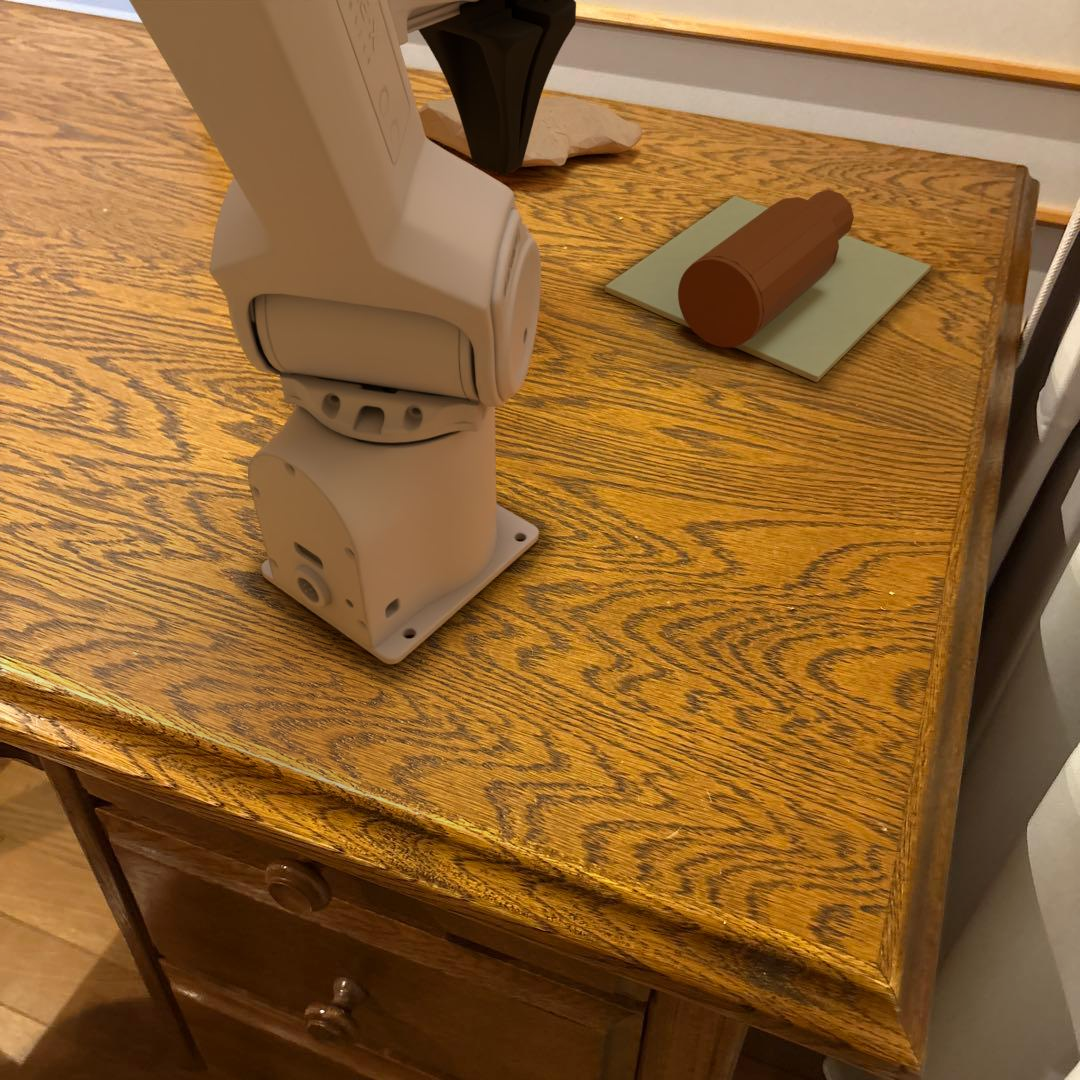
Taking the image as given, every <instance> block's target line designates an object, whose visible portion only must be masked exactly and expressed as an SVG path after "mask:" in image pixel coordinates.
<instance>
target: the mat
mask: <svg viewBox="0 0 1080 1080" xmlns="http://www.w3.org/2000/svg"><path fill="white" fill-rule="evenodd" d="M768 208H769V207H767V206H765V205H762V204H759V203H757V202H754V201H750V200H749V199H745V198H743V197H739V196H737V195H733V196H732V197H731V198H729V199H728V200H727V201H725V202H724V203H722V204H721V205H719V206H717V208H715V209H714V210H712V211H711V212H709V213H708V214H706V215H705V216H703V217H702V218H700V219H698V220H697V221H696V222H695V223H693V224H692V225H690V226H689V227H688V228H686V229H684V230H683V231H682V232H680V233H679V234H678V235H676V236H675V237H673V238H672V239H670V240H669V241H667V242H666V243H664V244H663V245H662V246H660V247H659V248H657V249H656V250H654V251H653V252H651V253H649V254H648V255H647V256H646V257H645V258H643V259H641V260H640V261H638V262H637V263H636V264H635V265H633V266H632V267H630V268H628V269H626V270H625V271H624V272H623V273H621V274H620V275H619V276H617V277H615V278H614V279H613V280H611V281H610V282H608V283H607V284H606V285H605V286H604V292H605V293H608V294H610V295H612V296H614V297H617V298H618V299H621V300H624V301H625V302H628V303H631V304H633V305H636V306H638V307H640V308H642V309H644V310H646V311H649V312H651V313H653V314H656V315H658V316H661V317H663V318H666V319H667V320H670V321H672V322H674V323H677V324H680V325H682V326H684V327H686V328H689V329H691V328H690V327H689V325H688V324H687V322H686V321H685V319H684V317H683V315H682V312H681V309H680V306H679V301H678V288H679V283H680V280H681V277H682V276H683V274H684V272H685V271H686V270H687V269H688V268H689V267H690V266H691V264H692V263H694V262H695V261H697V260H698V259H699V258H701V257H702V256H703V255H705V254H706V253H708V252H709V251H710V250H712V249H713V248H714V247H716V246H717V245H718V244H720V243H721V242H723V241H724V240H725V239H727V238H728V237H729V236H731V235H732V234H733V233H735V232H736V231H738V230H739V229H740V228H742V227H743V226H744V225H746V224H747V223H749V222H750V221H751V220H753V219H754V218H755V217H757V216H758V215H759V214H761V213H762V212H764V211H765V210H766V209H768ZM838 243H839V249H838V253H837V257H836V261H835V263H834V264H833V266H832V267H831V268H830V269H829V271H828V272H827V273H826V274H825V275H824V276H823V277H822V278H821V279H820V280H818V281H817V282H816V283H815V284H814V285H813V286H811V287H810V288H809V289H808V290H807V291H806V292H805V293H803V294H802V295H801V296H800V297H799V298H798V299H796V300H795V301H794V302H793V303H792V304H791V305H789V306H788V307H787V308H786V309H785V310H784V311H783V312H781V313H780V314H779V315H778V316H777V317H776V318H774V319H773V320H772V321H771V322H770V323H769V324H768V325H766V326H765V327H764V328H763V329H762V330H761V331H759V332H758V333H757V334H756V335H755V336H754V337H752V338H751V339H749V340H748V341H746V342H745V343H743V344H741V345H739V346H735V347H734V348H735V349H738V350H740V351H742V352H745V353H747V354H749V355H752V356H754V357H756V358H759V359H761V360H763V361H766V362H768V363H770V364H772V365H775V366H777V367H779V368H781V369H784V370H787V371H788V372H791V373H793V374H796V375H798V376H801V377H803V378H805V379H807V380H809V381H812V382H815V383H818V382H819V381H820V380H821V379H822V378H824V376H825V375H826V374H827V373H828V372H829V371H830V370H831V369H832V368H833V367H834V366H835V365H836V364H837V363H838V362H839V361H840V360H841V359H842V358H843V357H844V356H845V355H847V353H848V352H849V351H850V350H851V349H853V347H854V346H855V345H856V344H857V343H858V342H859V341H860V340H861V339H862V338H863V337H864V336H865V335H866V334H868V332H870V330H872V329H873V328H874V326H876V324H878V323H879V321H881V319H883V318H884V317H885V316H886V314H888V313H889V312H890V311H891V310H892V309H893V308H894V307H895V306H896V305H897V304H898V303H899V302H900V301H901V300H902V299H903V298H904V297H905V296H906V295H907V294H908V293H909V292H910V291H911V290H912V289H913V288H914V287H915V286H916V285H917V284H918V283H919V282H920V281H921V280H922V279H923V278H924V277H925V276H927V274H928V273H929V272H930V271H931V267H932V265H931V264H928V263H925V262H923V261H920V260H917V259H914V258H911V257H908V256H905V255H902V254H900V253H898V252H894V251H892V250H889V249H886V248H883V247H881V246H878V245H874V244H871V243H869V242H866V241H863V240H860V239H858V238H855V237H852V236H849V235H847V234H845V235H844V236H843V237H842V238H841V239H840V240H839V241H838Z"/></svg>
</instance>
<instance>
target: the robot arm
mask: <svg viewBox="0 0 1080 1080" xmlns="http://www.w3.org/2000/svg"><path fill="white" fill-rule="evenodd" d="M128 1H129V3H130V5H131V6H132V7H133V9H134V11H135V13H136V14H137V17H139V19H140V20H141V22H142V24H143V26H144V28H145V29H146V31H147V33H148V35H149V36H150V38H151V39H152V42H153V44H155V47H156V48H157V50H158V52H159V53H160V55H161V56H162V58H163V61H165V63H166V65H167V67H168V68H169V70H170V71H171V73H172V75H173V77H174V79H175V80H176V82H177V83H178V85H179V87H180V88H181V90H182V93H184V95H185V97H186V99H187V101H188V103H190V105H191V107H192V109H193V110H194V112H195V114H196V116H197V117H198V119H199V120H200V122H201V124H202V126H203V127H204V129H205V131H206V132H207V134H208V136H209V138H210V140H212V143H213V144H214V145H215V147H216V149H217V151H218V153H219V154H220V156H221V158H222V159H223V161H224V163H225V165H226V166H227V168H228V169H229V171H230V173H231V174H232V176H233V177H232V179H231V181H230V184H229V186H228V187H227V189H226V193H225V196H224V198H223V200H222V203H221V206H220V210H219V214H218V217H217V221H216V225H215V229H214V234H213V240H212V248H211V254H210V255H211V256H210V262H209V274H210V276H211V277H212V279H213V280H214V281H215V283H216V284H217V285H218V287H219V288H220V290H221V291H222V293H223V295H224V296H225V299H226V302H227V306H228V314H229V315H228V316H229V319H230V324H231V327H232V330H233V333H234V335H235V338H236V340H237V342H238V343H239V346H240V348H241V350H242V352H243V353H244V356H245V357H246V359H247V361H248V362H249V363H250V364H251V366H252V367H253V368H255V369H256V370H258V371H259V372H262V373H264V374H267V375H275V376H279V379H280V384H281V389H282V393H283V398H284V402H285V403H287V404H290V405H295V407H294V408H293V410H292V412H291V413H290V414H289V416H288V418H287V419H286V422H285V423H284V424H283V425H282V427H281V428H280V429H279V430H278V431H277V432H276V433H275V434H274V435H273V437H272V438H270V439H269V441H267V442H266V443H265V444H264V445H263V446H262V447H261V448H259V450H257V451H256V453H255V454H253V456H252V457H251V459H250V460H249V463H248V467H247V481H248V486H249V489H250V494H251V497H252V502H253V504H254V509H255V513H256V516H257V521H258V524H259V529H260V532H261V536H262V540H263V544H264V547H265V552H266V555H267V559H266V560H265V561H264V562H262V564H261V566H260V570H261V575H262V576H263V578H264V579H266V580H267V581H269V582H270V583H271V584H273V585H274V586H275V587H276V588H278V589H280V590H281V591H283V592H284V594H287V595H288V596H289V597H291V598H292V599H293V600H295V601H297V602H298V603H299V604H301V605H302V606H304V607H305V608H306V609H308V610H309V611H310V612H312V613H314V614H315V615H316V616H318V617H319V618H320V619H322V620H323V621H325V623H328V624H329V625H331V626H332V627H333V628H334V629H336V630H338V631H339V632H341V633H342V634H343V635H345V636H346V637H347V638H349V639H350V640H352V641H353V642H354V643H356V644H357V645H359V646H360V647H361V648H363V649H364V650H365V651H367V652H368V653H370V654H371V655H373V656H374V657H375V658H377V659H378V660H379V661H381V662H382V663H384V664H386V665H395V664H399V663H400V662H402V661H403V660H404V659H405V658H406V657H408V656H409V655H410V654H411V653H412V652H413V651H414V650H416V649H417V648H418V647H419V646H420V645H421V644H422V643H424V641H426V640H427V639H428V638H429V637H430V636H432V635H433V633H435V632H436V631H437V630H438V629H440V627H442V626H443V625H444V624H445V623H446V622H447V621H448V620H449V619H451V618H452V617H453V616H454V615H455V614H456V613H457V612H458V611H460V610H461V609H462V608H463V607H464V606H465V605H467V604H468V603H469V602H470V601H471V600H472V599H473V598H474V597H475V596H476V595H478V594H479V593H480V592H481V591H482V590H484V589H485V588H486V587H487V586H488V585H489V584H490V583H491V582H493V581H494V580H495V579H496V578H497V577H498V576H499V575H500V574H501V573H502V572H504V571H505V570H507V568H509V566H511V565H512V564H513V563H514V562H515V561H517V559H518V558H520V557H521V556H522V555H523V554H524V553H525V552H527V551H528V550H529V549H530V548H531V547H532V546H533V545H534V544H536V543H537V541H538V540H539V535H540V534H539V533H540V530H539V528H538V527H537V526H536V525H535V524H533V523H531V522H529V521H527V520H526V519H524V518H522V517H520V516H519V515H517V514H515V513H514V512H511V511H510V510H508V509H506V508H505V507H503V506H501V505H500V504H498V503H497V453H496V449H497V448H496V447H497V446H496V445H497V444H496V408H501V407H504V405H506V404H507V403H508V401H509V400H510V399H511V398H512V397H514V396H515V395H516V394H518V392H520V390H521V388H523V385H524V383H525V381H526V378H527V375H528V372H529V368H530V365H531V360H532V357H533V351H534V346H535V342H536V336H537V330H538V322H539V316H540V315H539V314H540V305H541V303H540V302H541V293H542V292H541V291H542V261H541V260H542V259H541V252H540V247H539V245H538V242H537V241H536V240H535V238H534V237H533V236H532V234H531V233H530V230H529V228H528V226H527V225H526V223H524V222H523V219H522V216H521V214H520V212H519V211H518V210H517V206H516V205H517V204H516V199H515V193H514V191H513V190H512V189H511V188H510V187H508V186H507V185H505V184H504V183H502V182H501V181H499V180H497V179H496V178H494V177H493V176H491V175H490V174H487V173H486V172H484V171H483V170H481V169H479V168H478V167H480V168H482V169H485V170H488V171H490V172H492V173H495V174H498V175H501V176H507V175H508V174H511V173H512V172H514V171H516V170H518V169H520V168H522V167H523V166H522V163H523V160H524V156H525V153H526V149H527V145H528V141H529V137H530V133H531V130H532V126H533V122H534V118H535V114H536V111H537V107H538V104H539V101H540V97H542V94H543V92H544V91H543V90H544V88H545V85H546V84H547V83H546V82H547V80H548V77H549V75H550V72H551V70H552V68H553V65H554V63H555V61H556V59H557V58H558V55H559V52H560V51H561V49H562V47H563V45H564V43H565V42H566V39H567V38H568V36H569V35H570V33H571V31H572V30H573V28H574V27H575V25H576V20H577V19H576V17H577V13H576V12H577V2H576V0H128ZM416 31H418V32H419V33H420V35H421V37H422V38H423V39H424V41H425V42H426V44H427V46H428V48H429V49H430V52H431V53H432V55H433V57H434V58H435V60H436V62H437V64H438V66H439V68H440V71H441V72H442V74H443V76H444V79H445V81H446V83H447V85H448V87H449V90H450V93H451V95H452V97H453V98H454V101H455V103H456V106H457V109H458V112H459V115H460V119H461V122H462V125H463V129H464V132H465V136H466V139H467V143H468V147H469V150H470V154H471V157H472V159H471V161H472V164H473V165H472V164H471V163H470V162H467V161H465V160H464V159H462V158H460V157H458V156H457V155H455V154H453V153H451V152H450V151H448V150H446V149H444V148H443V147H441V146H440V145H438V144H437V143H435V142H433V141H431V139H429V137H427V136H425V133H424V129H423V126H422V122H421V119H420V115H419V112H418V111H419V109H418V106H417V102H416V98H415V95H414V91H413V87H412V83H411V80H410V77H409V74H408V69H407V67H406V66H407V65H406V63H405V59H404V55H403V52H402V49H401V46H402V45H405V44H407V43H408V42H409V38H408V37H409V36H408V35H409V34H411V33H415V32H416ZM476 166H477V167H476ZM519 540H520V541H519ZM521 540H522V541H521ZM411 635H412V636H413V637H411V638H408V637H407V636H411Z"/></svg>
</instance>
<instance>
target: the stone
mask: <svg viewBox="0 0 1080 1080" xmlns="http://www.w3.org/2000/svg"><path fill="white" fill-rule="evenodd" d="M418 112H419V115H420V119H421V122H422V126H423V129H424V133H425V136H426V137H427V138H430V139H431V140H434V141H436V142H438V143H440V144H442V145H445V146H447V147H449V148H451V149H453V150H456V151H457V152H459V153H461V154H463V155H464V156H466V157H468V158H469V159H471V160H472V157H471V154H470V150H469V147H468V143H467V139H466V136H465V132H464V129H463V125H462V122H461V119H460V115H459V112H458V109H457V106H456V103H455V101H454V98H453V96H451V97H446V98H444V99H441V100H431V101H428V102H426V103H425V104H424V105H422V107H420V109H418ZM643 135H644V134H643V128H642V126H641V124H639V123H636V122H632V121H629V120H627V119H624V118H622V117H621V116H619V115H618V114H616V113H615V111H614V110H612V109H610V108H609V107H607V106H604V105H600V104H599V103H598V104H597V103H594V102H590V101H588V100H583V99H580V98H576V97H573V96H570V95H569V96H553V97H551V96H543V97H542V96H541V97H540V101H539V104H538V107H537V111H536V114H535V118H534V122H533V126H532V130H531V133H530V137H529V141H528V145H527V149H526V153H525V156H524V160H523V163H522V166H521V167H524V168H527V167H539V166H540V167H541V166H543V167H544V166H546V167H547V166H548V167H549V166H552V167H553V166H554V167H555V166H556V167H560V166H563V165H565V164H566V161H567V159H569V158H573V157H578V156H586V155H603V154H606V155H607V154H621V153H623V152H626V151H628V150H630V149H632V148H633V147H635V146H636V145H637V144H638V143H639V142H640V141H641V139H642V137H643Z"/></svg>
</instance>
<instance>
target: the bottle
mask: <svg viewBox="0 0 1080 1080" xmlns="http://www.w3.org/2000/svg"><path fill="white" fill-rule="evenodd" d="M854 218H855V216H854V212H853V208H852V204H851V203H850V201H849V200H848V199H847V198H846V197H845V196H844V195H843V194H842V193H840V192H837V191H834V190H831V189H826V190H822V191H818V192H816V193H815V194H813V195H812V196H811V197H809V198H808V199H805V198H803V197H798V196H797V197H788V198H782V199H781V200H779V201H777V202H775V203H774V204H772V205H770V206H769V207H768V209H766V210H765V211H764V212H762V213H761V214H759V215H758V216H757V217H755V218H754V219H753V220H751V221H750V222H749V223H747V224H746V225H744V226H743V227H742V228H740V229H739V230H738V231H736V232H735V233H733V234H732V235H731V236H729V237H728V238H727V239H725V240H724V241H723V242H721V243H720V244H718V245H717V246H716V247H714V248H713V249H712V250H710V251H709V252H708V253H706V254H705V255H703V256H702V257H701V258H699V259H698V260H697V261H695V262H694V263H692V264H691V266H690V267H689V268H688V269H687V270H686V271H685V272H684V274H683V276H682V277H681V280H680V283H679V288H678V301H679V306H680V309H681V312H682V315H683V317H684V319H685V321H686V322H687V324H688V325H689V327H690V328H689V327H688V328H689V329H691V331H693V333H694V334H695V335H697V336H698V337H699V338H700V339H701V340H703V341H705V342H706V343H709V344H711V345H712V346H716V347H720V348H735V346H739V345H741V344H743V343H745V342H746V341H748V340H749V339H751V338H752V337H754V336H755V335H756V334H757V333H758V332H759V331H761V330H762V329H763V328H764V327H765V326H766V325H768V324H769V323H770V322H771V321H772V320H773V319H774V318H776V317H777V316H778V315H779V314H780V313H781V312H783V311H784V310H785V309H786V308H787V307H788V306H789V305H791V304H792V303H793V302H794V301H795V300H796V299H798V298H799V297H800V296H801V295H802V294H803V293H805V292H806V291H807V290H808V289H809V288H810V287H811V286H813V285H814V284H815V283H816V282H817V281H818V280H820V279H821V278H822V277H823V276H824V275H825V274H826V273H827V272H828V271H829V269H830V268H831V267H832V266H833V264H834V263H835V261H836V257H837V253H838V249H839V243H838V241H839V240H840V239H841V238H842V237H843V236H844V235H847V234H848V233H849V232H850V231H851V230H852V225H853V222H854Z"/></svg>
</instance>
